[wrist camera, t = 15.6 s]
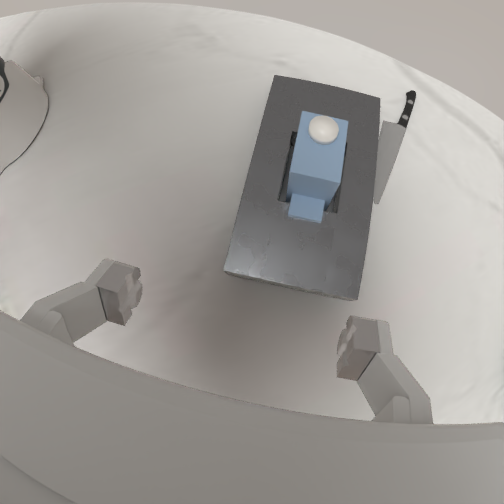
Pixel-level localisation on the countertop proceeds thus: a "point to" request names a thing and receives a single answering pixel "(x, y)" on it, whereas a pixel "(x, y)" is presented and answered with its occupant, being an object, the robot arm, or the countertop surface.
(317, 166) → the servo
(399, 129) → the chef's knife
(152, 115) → the countertop surface
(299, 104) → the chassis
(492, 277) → the countertop surface
